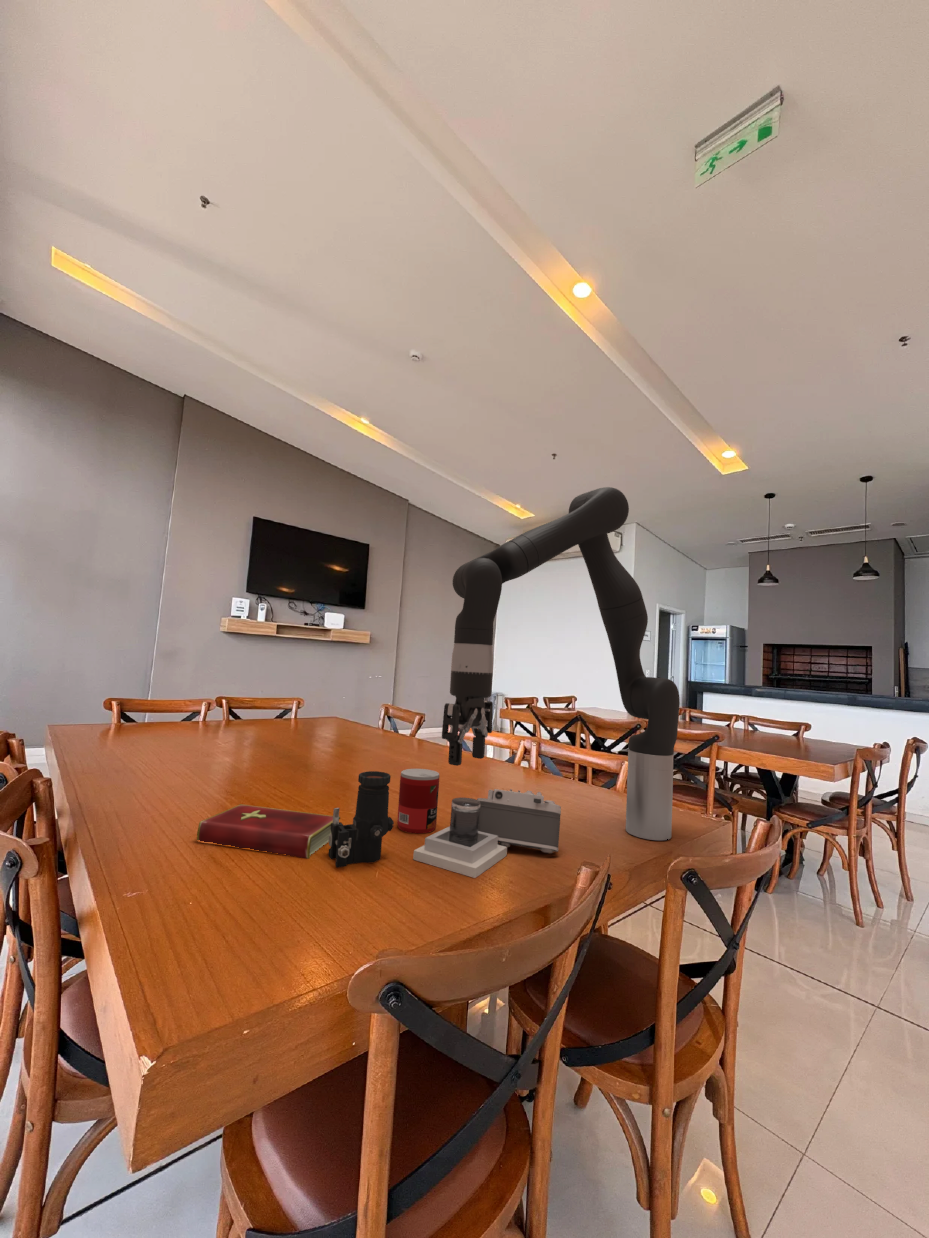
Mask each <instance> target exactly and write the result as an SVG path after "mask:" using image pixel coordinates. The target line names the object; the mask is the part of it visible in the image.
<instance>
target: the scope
mask: <svg viewBox="0 0 929 1238" xmlns="http://www.w3.org/2000/svg"><path fill="white" fill-rule="evenodd" d="M391 776H392V775H390V773H388V772H384V771H377V770H373V771H370V770H369V771H363V772H360V773H359V774H358V782H359V785H358V787H357V788H358V790H357V798H356V805H355V815H354V817H353V818H352V823H349V824H343V823H342V822H341V821H340V819H339V817H340V809H341V808H340V807H334V808H333V812H332V813H333V815H332V816H333V823H331V834H330V835H329V842H328V845H329V848H328V853H327V854H328V857H329V859H330V860H334V859H335V863H334V865H335V867H336V868H343V867H345V868H346V867H347V866H348V865H352V864H361V863H362V864H364V863H368V864H371V863H377V862H379V861H380V860H381V857H382V844H383V843H382V842H383V837H384V836H386V835H387V833H388V832H391V831H392V830H393V828H394V820H393V818H392V817H390V816H389V799H390V798H389V797H390V792H389V791H390V787H389V784H390V783H391V778H392V777H391Z"/></svg>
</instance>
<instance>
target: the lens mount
mask: <svg viewBox="0 0 929 1238" xmlns="http://www.w3.org/2000/svg"><path fill="white" fill-rule="evenodd" d="M449 832H450V825H449V826H447V827H446V828H443V829H441V830H439V831H437V832H435V833H433V834H431V835H429V836H426V837H425V838H424V844H423V845H421V846H420V847H418V848H416V849H414V850H413V856H412V857H413V858H412V860H413V861H417V862H421V863H424V864H426V865H430V866H434V867H437V868H439V869H444V870H447V871H450V872H454V873H458V874H460V875H462V876H465V877H471V878H473V879H476V878H477V877H479V876H481V875H482V874H483V873H485V872H486V871H488V870H489V869H490V868H491V867H493V866H494V865H495V864H497V863H498V862H500V861H501V860H502V859H504V858H505V857H507V853H508V847H505V846H501V845H500V844H499V843H498V836H497V835H493V834H489V833H485V832H481V831H478V839H477V844H475V845H473V846H471V847H467V846H464V845H460V844H456V843H453V842H449Z"/></svg>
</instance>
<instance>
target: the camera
mask: <svg viewBox="0 0 929 1238" xmlns="http://www.w3.org/2000/svg"><path fill="white" fill-rule="evenodd" d="M487 792H488V793H487V798H483V797H478V798H476V800H478V801H480V814H479V826H478V831H481V832H485V833H489V834H493V835H497V836H498V844H499V845H501V846H505V847H507V848H510V847H511V846H514V847H515V846H516V847H521V848H526V849H527V848H528V849H534V850H540V852H542V853H543V854H549V855H550V854H551V855H552V854H553V853H554V852H555V853H557V852H559V845H560V832H561V831H560V829H561V815H562V809H561V808H562V806H561V805H558V804H556V802H555V800H554V801H553V800H550V799H547V800H545V799H544V798H545V796H544V795H543V794H542V792H541V791H537V792H536V794H535V793H534V792H533V791H532V790H526V791H525V792H521V790H517V791H513V789H512V788H510V789H509V790H504V789H498V788H497V789H496V788H494V789H488V791H487Z"/></svg>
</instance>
